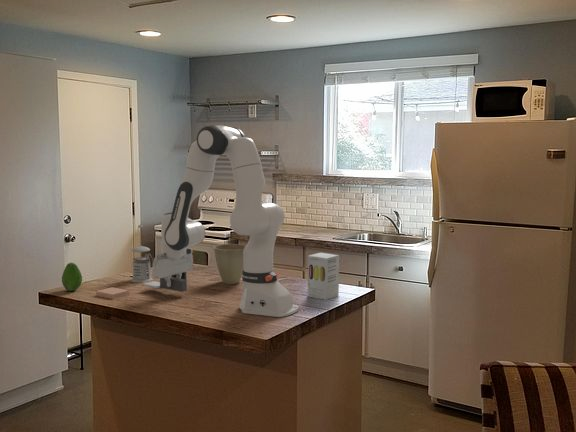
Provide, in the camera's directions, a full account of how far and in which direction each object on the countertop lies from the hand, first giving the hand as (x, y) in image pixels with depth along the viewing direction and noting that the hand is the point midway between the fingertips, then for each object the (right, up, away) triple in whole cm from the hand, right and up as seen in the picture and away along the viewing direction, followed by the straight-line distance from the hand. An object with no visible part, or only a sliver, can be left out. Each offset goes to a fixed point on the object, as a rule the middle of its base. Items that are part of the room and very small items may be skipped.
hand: (173, 285), depth 240 cm
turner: (-4, -1, +2) cm, 4 cm away
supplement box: (+61, -4, -2) cm, 61 cm away
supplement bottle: (-2, -1, +23) cm, 23 cm away
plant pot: (+21, -2, +22) cm, 31 cm away
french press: (-19, -1, +26) cm, 32 cm away
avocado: (-43, -3, +7) cm, 44 cm away
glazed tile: (-20, -4, -3) cm, 21 cm away
